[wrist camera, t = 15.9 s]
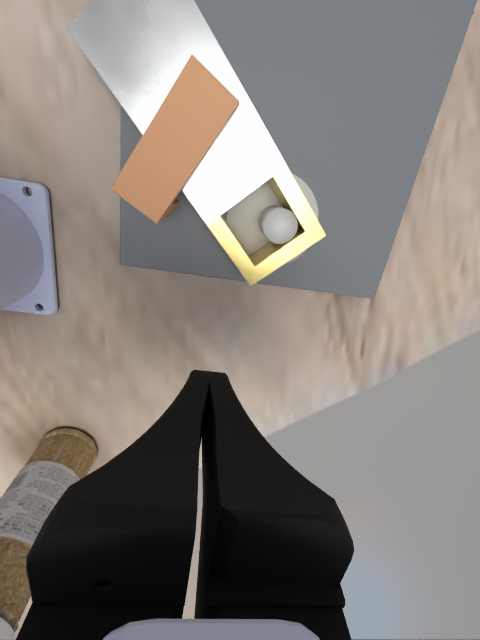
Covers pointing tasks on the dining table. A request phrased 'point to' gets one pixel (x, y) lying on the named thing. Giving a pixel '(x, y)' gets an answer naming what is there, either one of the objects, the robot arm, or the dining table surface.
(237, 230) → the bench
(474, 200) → the dining table surface
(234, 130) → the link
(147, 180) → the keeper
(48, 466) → the sprinkles bottle
